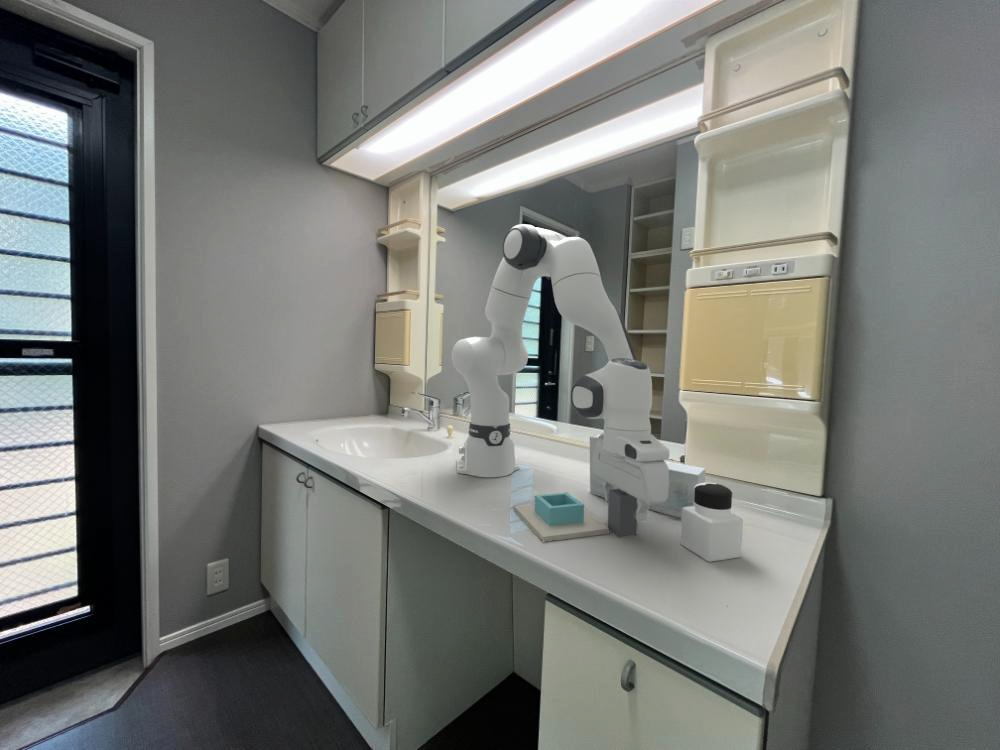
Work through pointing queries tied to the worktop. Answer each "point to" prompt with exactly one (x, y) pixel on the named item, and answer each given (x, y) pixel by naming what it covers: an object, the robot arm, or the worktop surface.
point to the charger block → (622, 513)
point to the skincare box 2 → (680, 488)
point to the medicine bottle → (712, 524)
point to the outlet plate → (559, 518)
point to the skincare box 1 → (595, 482)
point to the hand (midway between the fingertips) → (624, 511)
